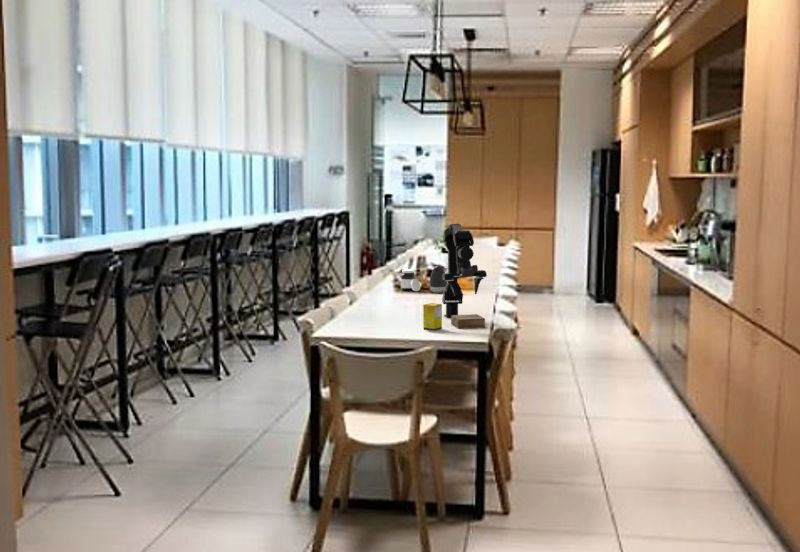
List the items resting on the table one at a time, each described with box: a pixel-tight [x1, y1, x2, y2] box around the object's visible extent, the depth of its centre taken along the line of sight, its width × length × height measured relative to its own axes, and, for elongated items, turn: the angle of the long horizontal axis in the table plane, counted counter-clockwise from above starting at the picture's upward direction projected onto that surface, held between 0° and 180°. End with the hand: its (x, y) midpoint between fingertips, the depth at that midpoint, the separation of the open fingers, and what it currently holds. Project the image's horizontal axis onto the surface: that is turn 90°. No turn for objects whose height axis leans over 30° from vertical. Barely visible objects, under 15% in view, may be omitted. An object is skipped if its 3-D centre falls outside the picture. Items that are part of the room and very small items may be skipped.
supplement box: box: [422, 302, 443, 331], centre depth 398 cm, size 6×6×11 cm
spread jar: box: [400, 268, 421, 292], centre depth 523 cm, size 12×11×12 cm
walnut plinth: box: [450, 313, 486, 330], centre depth 406 cm, size 12×12×4 cm
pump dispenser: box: [428, 264, 448, 294], centre depth 514 cm, size 10×10×15 cm
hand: (465, 295), depth 402 cm, fingers open, 9 cm apart
